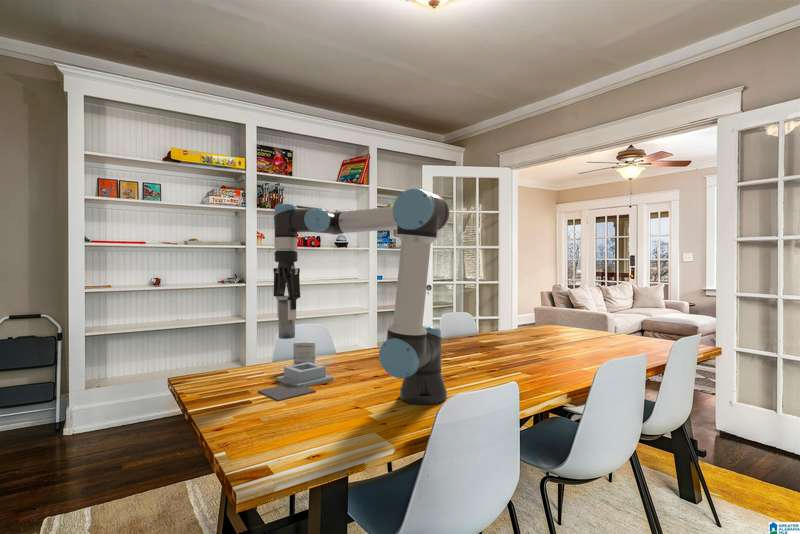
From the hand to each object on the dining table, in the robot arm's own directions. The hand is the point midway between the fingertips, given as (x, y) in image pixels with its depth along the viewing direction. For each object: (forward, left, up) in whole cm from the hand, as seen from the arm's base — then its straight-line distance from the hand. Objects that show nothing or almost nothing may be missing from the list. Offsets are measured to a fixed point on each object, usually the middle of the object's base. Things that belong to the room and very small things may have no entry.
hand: (286, 318), depth 147 cm
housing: (+8, -12, -25) cm, 29 cm away
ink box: (+20, -19, -25) cm, 38 cm away
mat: (0, 0, -25) cm, 25 cm away
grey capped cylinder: (0, 0, -6) cm, 6 cm away
